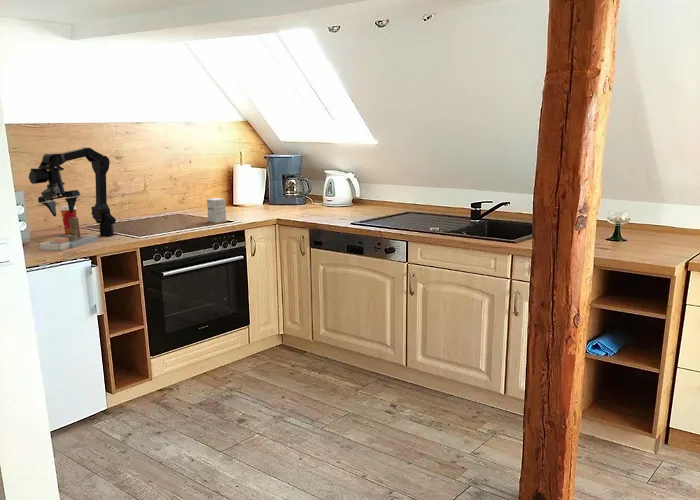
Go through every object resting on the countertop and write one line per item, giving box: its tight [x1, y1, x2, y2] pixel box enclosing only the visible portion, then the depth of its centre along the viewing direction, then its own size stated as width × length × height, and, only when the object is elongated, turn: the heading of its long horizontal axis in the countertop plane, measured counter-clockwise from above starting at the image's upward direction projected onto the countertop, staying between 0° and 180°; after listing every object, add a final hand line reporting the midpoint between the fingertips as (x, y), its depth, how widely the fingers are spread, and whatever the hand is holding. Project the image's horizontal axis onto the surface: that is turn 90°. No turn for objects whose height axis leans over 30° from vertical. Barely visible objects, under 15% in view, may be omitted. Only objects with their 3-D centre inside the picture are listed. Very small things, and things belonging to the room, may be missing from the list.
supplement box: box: [206, 197, 227, 224], centre depth 341 cm, size 7×7×13 cm
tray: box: [38, 240, 71, 252], centre depth 279 cm, size 6×11×3 cm, turn 75°
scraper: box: [58, 216, 83, 241], centre depth 290 cm, size 7×9×10 cm
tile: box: [55, 237, 69, 243], centre depth 284 cm, size 4×4×2 cm
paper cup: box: [59, 205, 77, 235], centre depth 315 cm, size 8×8×14 cm
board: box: [50, 235, 98, 249], centre depth 291 cm, size 17×14×2 cm
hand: (63, 214), depth 284 cm, fingers open, 9 cm apart
